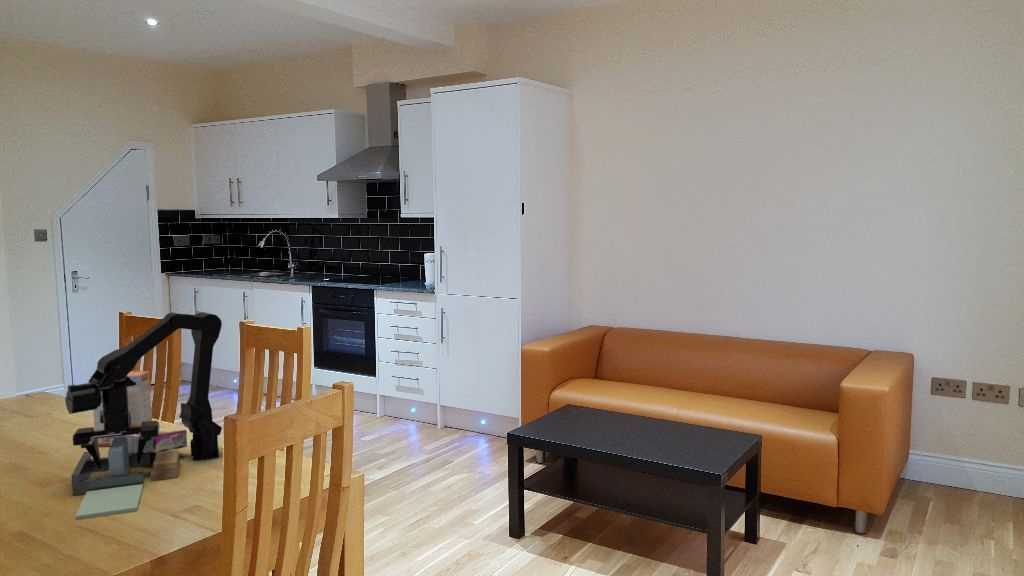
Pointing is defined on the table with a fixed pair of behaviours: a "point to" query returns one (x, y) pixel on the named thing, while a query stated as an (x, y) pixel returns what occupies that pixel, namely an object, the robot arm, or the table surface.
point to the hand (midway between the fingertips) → (119, 465)
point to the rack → (88, 465)
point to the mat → (110, 501)
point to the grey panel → (118, 456)
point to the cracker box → (131, 404)
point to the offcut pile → (165, 465)
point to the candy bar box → (158, 442)
